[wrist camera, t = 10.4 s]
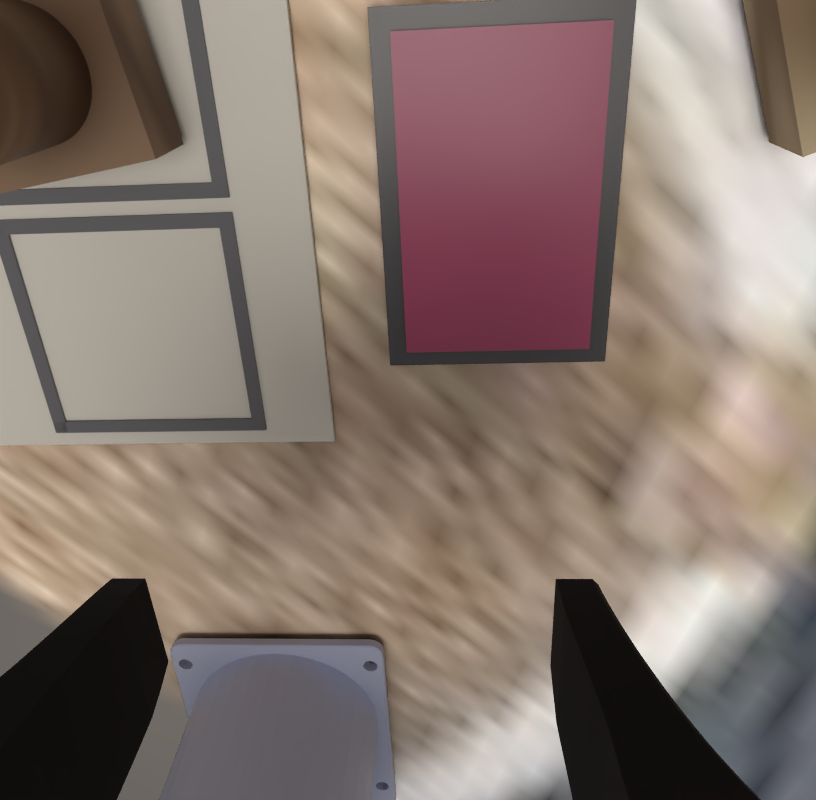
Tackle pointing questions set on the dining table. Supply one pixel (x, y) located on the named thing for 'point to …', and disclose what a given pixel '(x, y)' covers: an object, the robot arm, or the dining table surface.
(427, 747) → the dining table surface
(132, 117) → the walnut stamp
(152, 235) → the sheet
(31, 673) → the robot arm
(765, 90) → the oak stamp
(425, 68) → the ink pad
